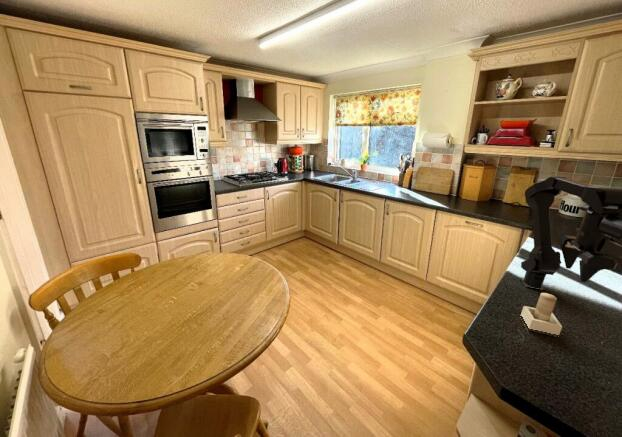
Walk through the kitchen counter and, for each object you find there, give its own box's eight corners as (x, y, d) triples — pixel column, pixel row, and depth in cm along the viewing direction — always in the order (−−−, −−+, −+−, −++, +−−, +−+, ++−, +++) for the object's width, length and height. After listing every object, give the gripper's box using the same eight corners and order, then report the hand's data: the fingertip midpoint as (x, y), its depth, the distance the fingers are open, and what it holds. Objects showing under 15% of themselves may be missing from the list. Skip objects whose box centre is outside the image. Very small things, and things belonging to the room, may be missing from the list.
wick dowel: (530, 319, 82) (540, 291, 79) (545, 324, 80) (556, 295, 77) (531, 325, 79) (540, 296, 76) (546, 330, 77) (557, 301, 74)
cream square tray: (520, 316, 84) (523, 305, 83) (547, 322, 82) (551, 311, 80) (528, 330, 78) (532, 319, 77) (557, 338, 76) (562, 326, 74)
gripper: (654, 245, 68) (629, 297, 73) (609, 223, 85) (591, 267, 90) (598, 238, 72) (578, 287, 77) (565, 218, 89) (550, 260, 94)
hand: (575, 274), depth 84 cm, fingers open, 9 cm apart
